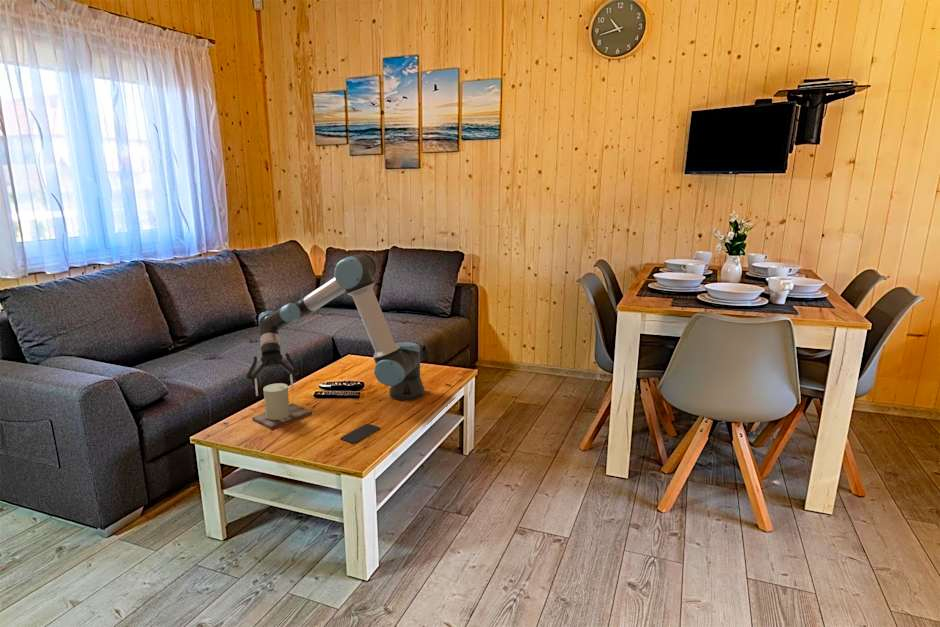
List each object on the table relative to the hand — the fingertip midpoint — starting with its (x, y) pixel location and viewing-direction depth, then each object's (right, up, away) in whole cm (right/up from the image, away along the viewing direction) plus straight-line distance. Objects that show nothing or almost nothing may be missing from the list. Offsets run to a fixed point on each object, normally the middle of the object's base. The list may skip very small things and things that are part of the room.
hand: (275, 392), depth 223 cm
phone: (+38, -13, -18) cm, 44 cm away
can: (+3, -8, -6) cm, 11 cm away
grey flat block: (+5, -9, -5) cm, 11 cm away
